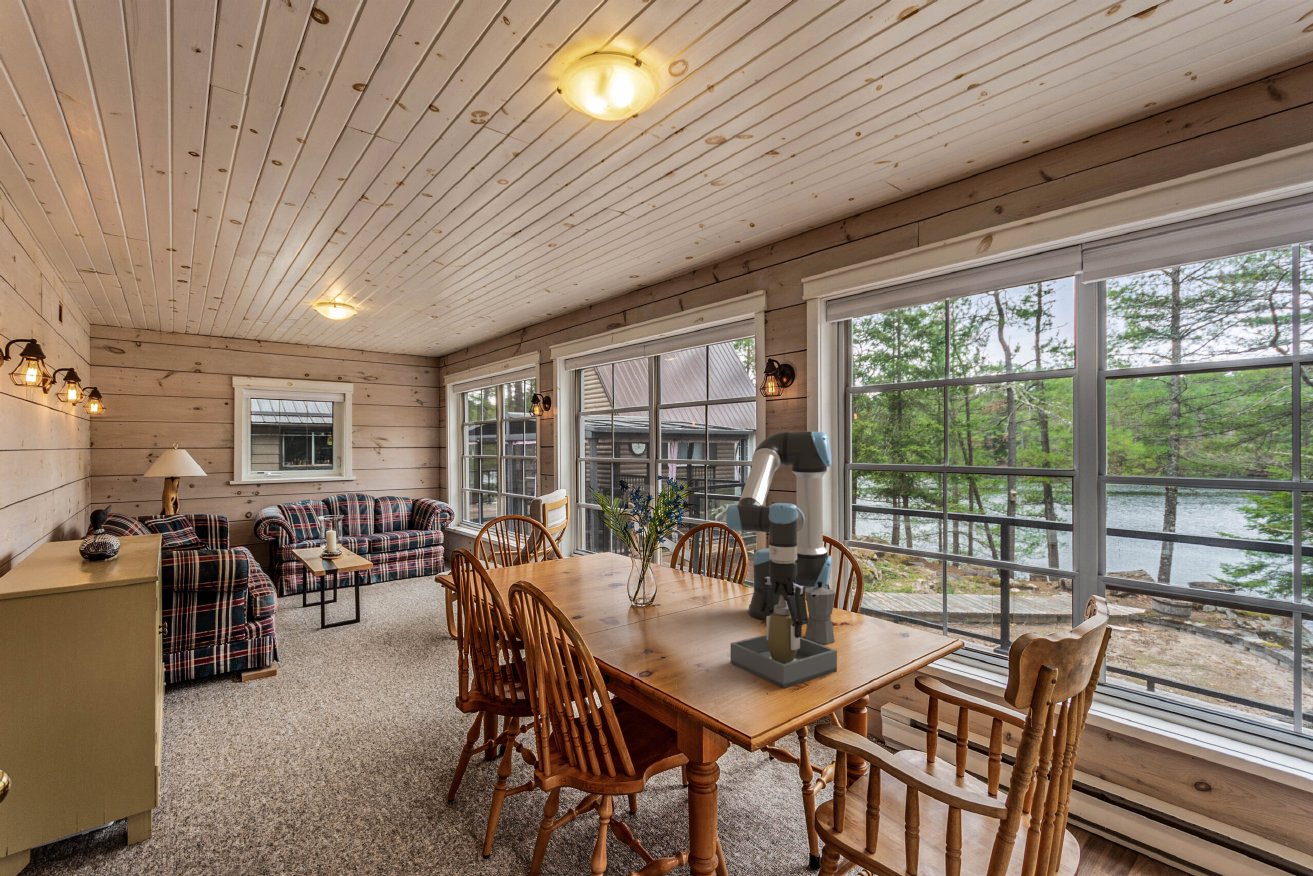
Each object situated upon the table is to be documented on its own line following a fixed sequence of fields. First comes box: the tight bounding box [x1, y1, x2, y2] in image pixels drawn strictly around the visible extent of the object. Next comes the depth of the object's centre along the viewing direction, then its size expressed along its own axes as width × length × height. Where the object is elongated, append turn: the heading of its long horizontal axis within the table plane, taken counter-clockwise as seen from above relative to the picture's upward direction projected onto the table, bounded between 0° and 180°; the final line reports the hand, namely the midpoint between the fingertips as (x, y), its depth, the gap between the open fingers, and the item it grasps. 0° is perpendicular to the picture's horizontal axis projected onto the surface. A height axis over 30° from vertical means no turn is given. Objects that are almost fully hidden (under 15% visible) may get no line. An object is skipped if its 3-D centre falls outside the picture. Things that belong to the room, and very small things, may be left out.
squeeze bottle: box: [768, 595, 797, 663], centre depth 161 cm, size 8×8×18 cm
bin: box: [730, 634, 838, 689], centre depth 161 cm, size 20×20×6 cm
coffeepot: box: [804, 581, 836, 645], centre depth 184 cm, size 15×9×18 cm, turn 147°
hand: (782, 644), depth 161 cm, fingers open, 8 cm apart
